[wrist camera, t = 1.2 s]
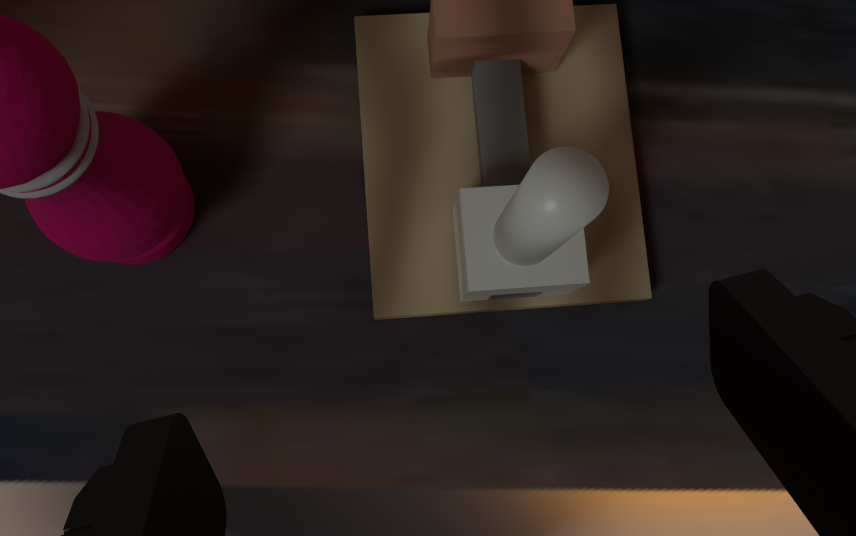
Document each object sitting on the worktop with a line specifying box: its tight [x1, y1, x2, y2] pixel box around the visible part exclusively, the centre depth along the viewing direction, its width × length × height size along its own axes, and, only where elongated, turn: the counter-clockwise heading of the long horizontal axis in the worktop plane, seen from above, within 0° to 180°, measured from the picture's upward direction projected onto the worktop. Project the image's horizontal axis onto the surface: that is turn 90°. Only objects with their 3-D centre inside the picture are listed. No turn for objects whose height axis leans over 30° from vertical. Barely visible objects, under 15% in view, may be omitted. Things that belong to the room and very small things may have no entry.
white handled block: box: [453, 147, 609, 302], centre depth 34 cm, size 6×5×13 cm
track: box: [354, 0, 652, 320], centre depth 40 cm, size 15×17×6 cm
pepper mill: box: [0, 14, 195, 265], centre depth 32 cm, size 7×7×20 cm
